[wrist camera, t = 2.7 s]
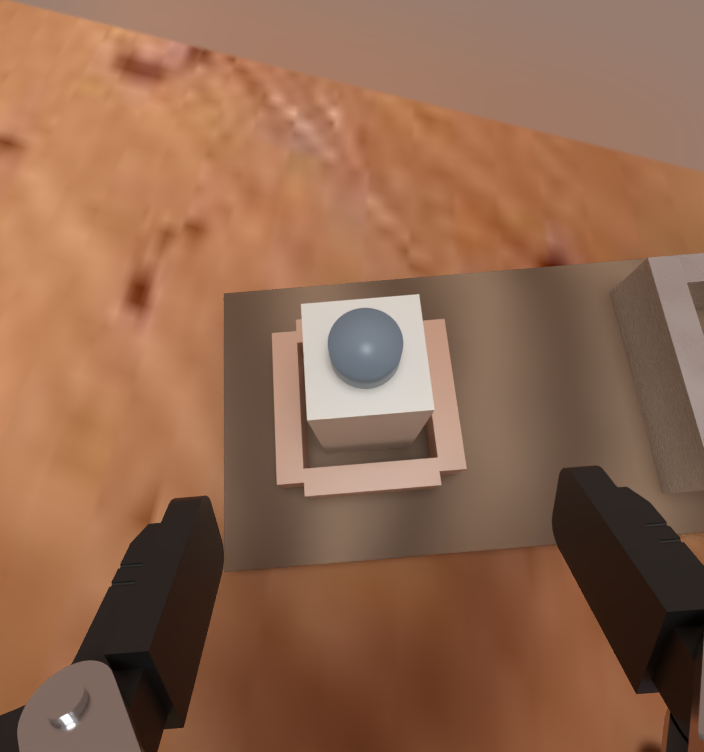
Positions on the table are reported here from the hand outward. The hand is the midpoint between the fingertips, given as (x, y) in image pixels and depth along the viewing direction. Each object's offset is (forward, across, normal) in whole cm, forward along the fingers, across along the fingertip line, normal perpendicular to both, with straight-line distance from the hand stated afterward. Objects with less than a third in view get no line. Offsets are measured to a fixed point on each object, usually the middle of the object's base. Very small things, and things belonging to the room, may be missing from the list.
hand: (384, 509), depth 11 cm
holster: (+9, 0, +3) cm, 9 cm away
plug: (+9, 0, +3) cm, 9 cm away
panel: (+10, -8, +4) cm, 13 cm away
